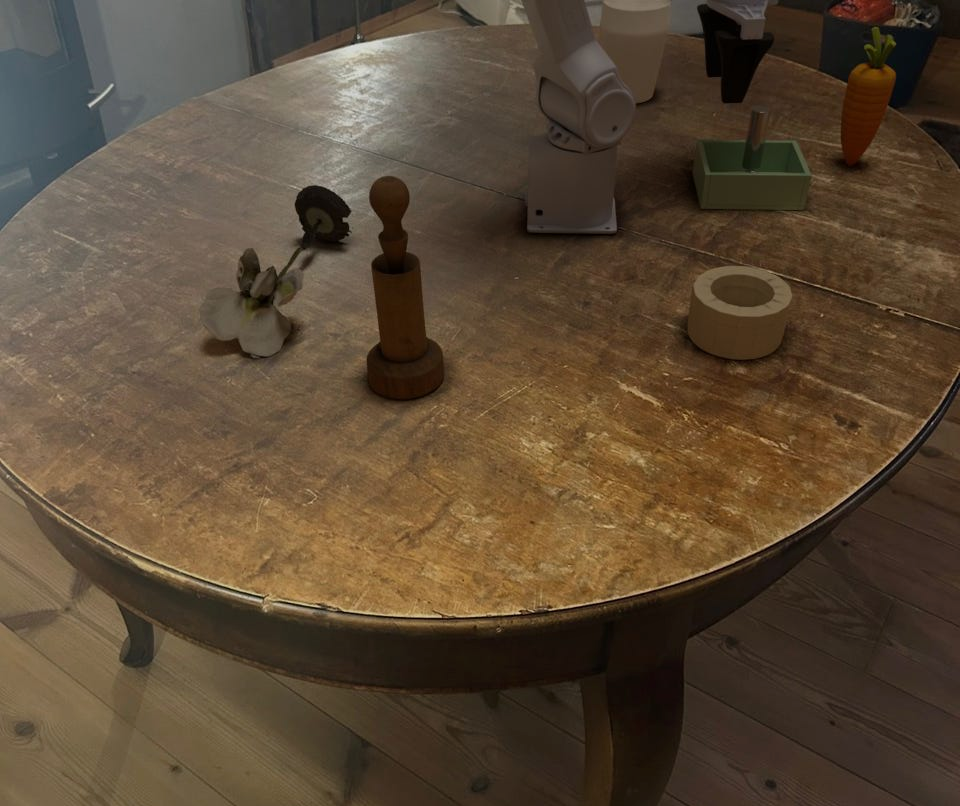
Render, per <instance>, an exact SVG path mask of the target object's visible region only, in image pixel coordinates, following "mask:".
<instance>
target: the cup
mask: <svg viewBox="0 0 960 806" xmlns="http://www.w3.org/2000/svg"><path fill="white" fill-rule="evenodd" d="M671 2H672V1H671V0H602V5H601V12H600V13H601V14H600V20H599V35H600V37H599V39H600V46H601V47H602V49H603V50H604V51H605V52H606V54H607V55H608V56H609V58H610V59H611V60H612V62H613V63H614V64H615V66H616V68H617V71H618V75H619V77H620V79H621V81H622V82H623V83H624V84H625V85H626V86H627V87H629V88H630V90H631V91H632V93H633V95H634V97H635V102H636V104H641V103H646V102H647V101H649V100H650V99H652V98H653V96H654V93H655V89H656V85H657V84H656V83H657V79H658V76H659V72H660V68H661V65H662V59H663V54H664V51H665V48H666V43H667V38H668V35H669V30H670V26H671V25H670V23H671V22H670V21H671V18H670V17H671Z"/></svg>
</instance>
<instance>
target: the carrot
mask: <svg viewBox="0 0 960 806" xmlns="http://www.w3.org/2000/svg"><path fill="white" fill-rule="evenodd" d="M870 30H871V38H872V42H873V45H872V44H869V43H868V44H865V45H863V49H864V50H865V53H866V55H867V57H868V59H869V61H870V62H862V63H859V64H858V65H857V66H856V67H854V69H852V70H851V71H850V74H849V75H848V79H847V83H846V84H847V85H846V89H845V92H844V98H843V104H842V108H841V119H840V143H841V150H842V151H841V152H842V155H843V157H844V161H845V163H846V164H847V166H848V167H852V166H854V165H855V164H856V163H857V162H858V161H859V159H860V158H861V157H862V156H863V155H864V153H865V152H866V151H867V150H868V148H869V147H870V145H871V144H872V142H873V141H874V138H875V136H876V134H877V132H878V131H879V129H880V126H881V124H882V122H883V120H884V117H885V116H886V112H887V110H888V107H889V103H890V100H891V97H892V93H893V90H894V87H895V85H896V79H897V72H895V70H894V69H893V68H891V67H890V66H888V64H885V62H886V60H887V58H888V57H889V55H890V54H891V52H892V50H893V49H895V47H896V45H897V43H896V41H894V40H893V39H894V37H893V36H892V35H891V34H886V35H885V39H884V44H883V45H882V37H881V32H880V27H877V26H874V27H872V28H871V29H870ZM882 46H883V47H882ZM882 48H883V49H882Z"/></svg>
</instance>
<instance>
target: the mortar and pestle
mask: <svg viewBox="0 0 960 806" xmlns="http://www.w3.org/2000/svg"><path fill="white" fill-rule="evenodd" d="M368 201H369V205H370V208H372V210H373V212H374V213H375V214H376V216H377V217H378V218H379V220H380V221H381V225H382V226H383V228H382V229H383V230H382V231H381V232H379V234H378V235H377V239H378V243H379V245H380V248H381V250H382V253H381V254H379V255H377V256H374V258H373V259H372V260H371V264H370V267H371V268H370V269H371V277H372V284H373V292H374V301H375V309H376V317H377V326H378V335H379V342H378V343H376V344H375V345H374V346H372V347H371V349H370V350H369V351H368V352H367V355H366V368H367V377H368V383H369V385H370V387H371V389H372V390H373V391H374V392H375V393H377V394H379V395H380V396H383V397H386V398H390V399H396V400H409V399H415V398H419V397H422V396H425V395H427V394H429V393H431V392H432V391H434V390H436V389H437V388H438V387H439V386H440V385H441V384H442V383H443V380H444V378H445V363H444V352H443V350H442V347H441V345H440V344H439V343H438V342H436V341H435V340H433V339H432V338H429V337H427V329H426V320H425V319H426V318H425V308H424V296H423V283H422V282H423V281H422V270H421V269H422V268H421V259H420V258H419V257H418V256H417V255H415V254H414V253H411V252H408V251H407V249H408V243H409V233H408V232H407V230H405V229H404V228H403V224H402V220H403V218H404V216H405V215H406V213H407V210H408V208H409V205H410V201H411V196H410V191H409V188H408V186H407V184H406V182H404V181H403V180H402V179H401V178H399V177H397V176H393V175H385V176H384V175H383V176H381V177H379V178H377V179H376V180H375V181H374V182H373V183H372V184H371V187H370V188H369V193H368Z"/></svg>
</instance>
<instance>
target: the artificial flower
mask: <svg viewBox="0 0 960 806" xmlns="http://www.w3.org/2000/svg"><path fill="white" fill-rule="evenodd" d="M295 198H296V199H295V202H294V209H295V212H296V215H297V216H298V221H299V223H300V225H301V226H302V227H301V229H302V231H303V232H304V234H303V235H302V239H301V244H300V246H299V247H297V248H296V250H295V251H294V252H293V253H292V255H291V257H290V259H289V261H288V262H287V264H286V265H285V266H284V267H283V268H282V269H281V271H280V272H279V273H278V272H277V269H276V268H275V266H274V265H272V266H269V267H268V268H266V270H263V271H261V265H260V261H259V256H258V253H256V250H254V247H248V248H246V249H244V251H243V253H242V255H241V256H240V257H239V258H238V262H237V271H236V277H235V278H236V282H237V283H236V284H237V285H238V289H239V291H235V290H233V288H231V287H226V286H221V287H220V286H218V287H215V288H212V289H210V290H209V291H208V292H207V293H206V297H205V299H204V301H203V302H202V303H201V305H200V306H199V308H198V310H199V311H198V312H199V318H200V321H201V324H202V326H203V327H204V328H205V330H206V331H207V332H208V333H209V334H210V335H211V336H212V337H213V338H214V339H216V340H218V341H221V342H223V341H232V340H234V339H237V340H238V342H239V345H240V347H241V349H242V351H243V352H246V353H247V354H250V357H252V358H253V359H261V357H272V356H274V355H275V354H277V353H278V352H279V351H281V349H282V346H283V345H284V340H286V338H287V337H288V336H289V335H290V333H291V330H292V327H291V322H290V320H289V319H288V317H287V316H285V315H283V314H282V313H281V312H280V310H278V308H279V307H282V306H284V305H287V304H288V303H289V302H291V301H292V300H294V298H295V297H296V295H297V293H299V292H300V291H302V290H303V287H304V285H303V283H304V272H303V270H302V269H300V268H298V267H297V268H293V269H290V267H291V266H292V265H293V263H294V262H295V260H296V259H297V258H298V257H299V255H300V254H301V253H302V252H303V251H306V250H307V249H309V248H311V246H312V244H313V243H314V241H318V242H319V241H321V240H323V241H327V242H329V241H330V242H333V243H338V242H339V241H342V240H344V239H345V238H346V237H347V238H348V237H349V236H350V234H353V231H352V230H350V224H349V222H347V221H344V219H348V218H349V216H350V215H351V213H352V210H351V208H350V206H349V204H348V203H347V202H346V201H345V200H344V198H342V197H341V196H340V195H339V194H337V193H336V192H335V191H333V190H331V189H330V188H327V187H325V186H323V185H314V184H313V185H307V186H305V187H302V189H301V190H300V191H298V193H297V195H296V197H295ZM351 229H353V230H354V227H353V226H352V227H351ZM290 248H292V245H290ZM289 269H290V270H289ZM288 270H289V271H288ZM274 300H275V303H276V305H277V307H278V308H276V305H274Z"/></svg>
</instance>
